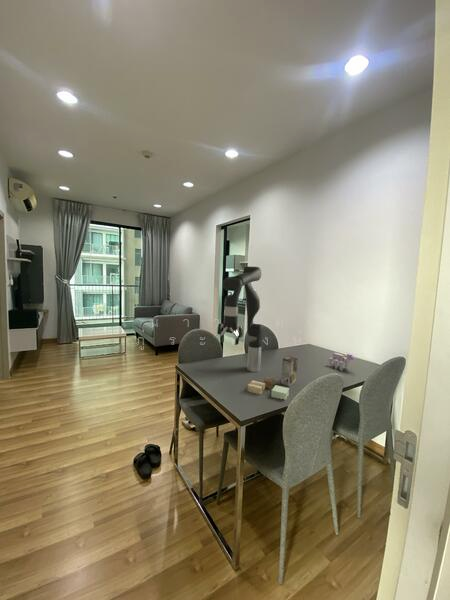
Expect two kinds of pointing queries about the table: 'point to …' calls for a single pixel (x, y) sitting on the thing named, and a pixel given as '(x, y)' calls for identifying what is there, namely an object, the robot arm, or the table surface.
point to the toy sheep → (341, 359)
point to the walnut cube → (269, 382)
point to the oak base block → (256, 387)
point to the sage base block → (280, 392)
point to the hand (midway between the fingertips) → (229, 343)
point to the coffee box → (289, 370)
